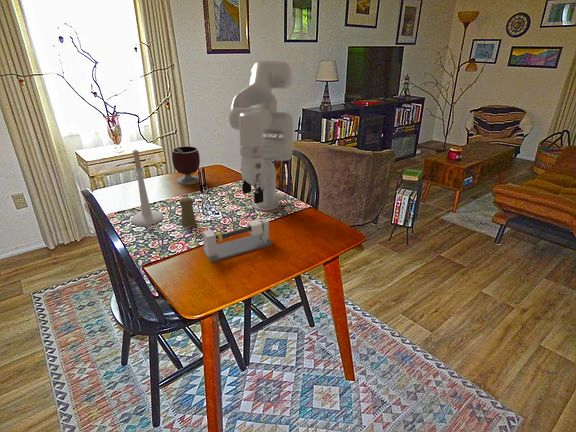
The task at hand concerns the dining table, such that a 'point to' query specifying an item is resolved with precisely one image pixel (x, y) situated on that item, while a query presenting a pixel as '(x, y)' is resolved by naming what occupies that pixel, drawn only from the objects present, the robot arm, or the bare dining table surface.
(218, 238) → the grey rod stand
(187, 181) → the mate gourd
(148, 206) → the candlestick
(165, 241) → the dining table surface
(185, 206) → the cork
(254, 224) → the sleeve
